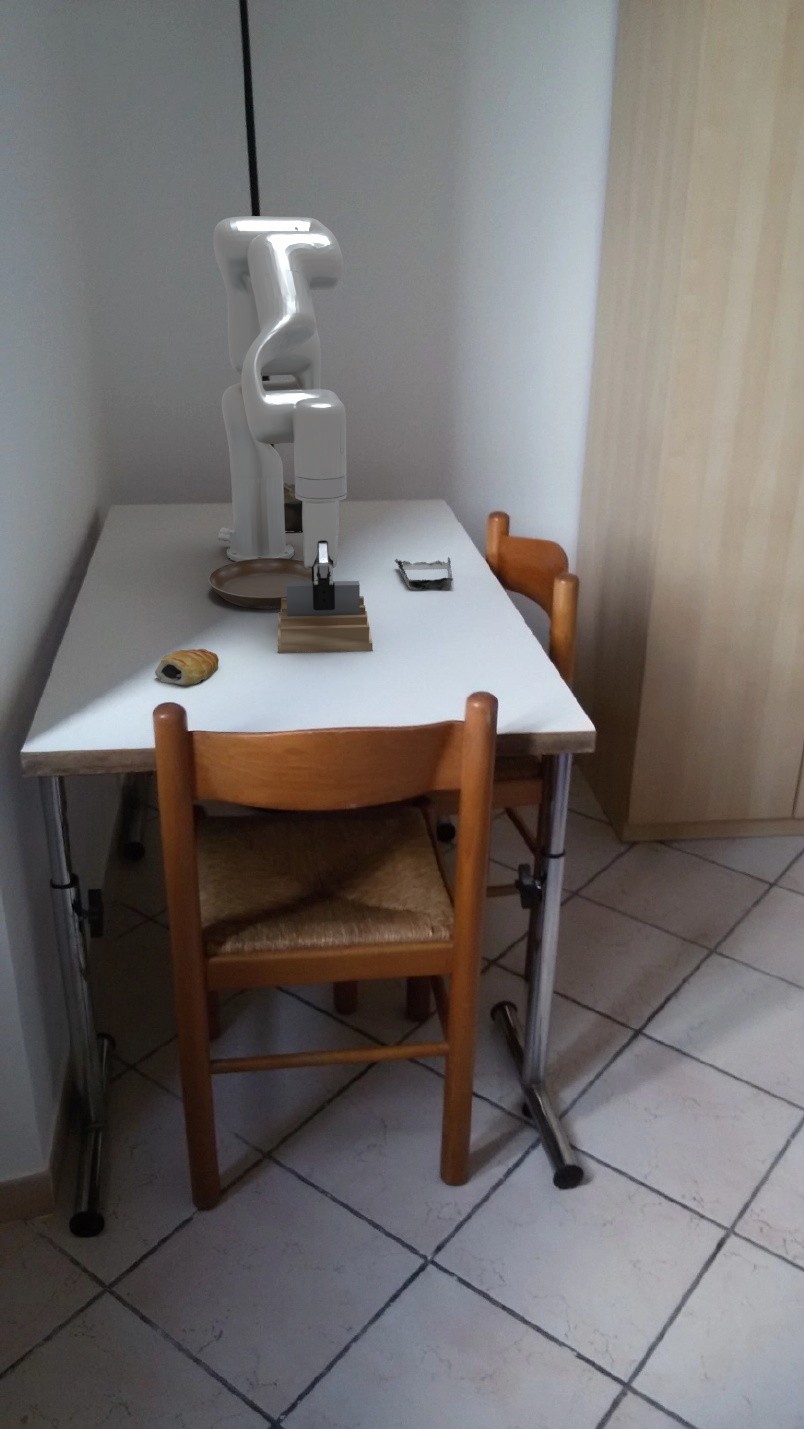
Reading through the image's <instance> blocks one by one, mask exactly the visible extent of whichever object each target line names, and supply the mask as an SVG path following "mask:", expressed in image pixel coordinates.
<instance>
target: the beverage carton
mask: <svg viewBox="0 0 804 1429" xmlns="http://www.w3.org/2000/svg"><path fill="white" fill-rule="evenodd" d="M283 489H284V516H285V531H302V530H303V528H302V503H303V501H301V500H298V499H296V497H295V483H293V484H291V483H290V484H289V482H283Z"/></svg>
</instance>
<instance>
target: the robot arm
mask: <svg viewBox="0 0 804 1429" xmlns="http://www.w3.org/2000/svg"><path fill="white" fill-rule="evenodd" d="M212 240H213V252H214V255H215V259H216V264H217V266H218V268H219V271H220V274H221V276H222V279H223V282H224V287H225V290H226V297H227V298H226V299H227V302H226V303H227V337H228V338H227V339H228V354H229V360H230V364H231V367H232V369H233V370H234V372H236V373H237V374H239V375H241V380H240V382H237V383H235V384H232V385H230V386H229V387H228V388H226V389H225V390H224V392H223V394H222V397H221V412H222V416H223V421H224V422H223V423H224V427H225V432H226V438H227V445H228V453H229V464H230V465H229V466H230V483H231V484H230V485H231V500H232V501H231V502H232V516H233V519H232V521H233V529H231V528H226V527H221V528H220V530H219V533H218V537H217V538H218V540H219V541H221V542H228V543H229V547H228V548H227V549H226V557H227V558H228V559H229V558H230V559H229V560H231V561H234V562H238V561H242V560H249V559H258V558H288V559H292V557H294V555H295V548H294V546H293V545H291V544H289V543H287V542H286V532H285V516H284V489H283V483H284V468H283V467H284V465H283V460H282V458H281V456H280V454H279V452H278V451H277V450H276V449H275V448H274V447H273V446H272V445H278V444H281V445H282V444H293V461H294V466H293V467H294V484H295V497H296V499H298V500H301V501H303V503H302V528H303V530H302V531H303V532H302V551H303V552H302V555H303V561H304V567H305V568H307V569H308V567H312V582H314V583H313V609H314V610H334V609H335V583H333V581H334V573H333V572H334V571H333V569H334V568H335V567H337V565H338V555H339V554H338V553H339V538H340V537H339V536H340V535H339V534H340V533H339V532H340V531H339V530H340V529H339V527H340V526H339V525H340V523H339V522H340V521H339V520H340V516H339V515H340V513H339V512H340V511H339V510H340V508H339V507H340V506H339V502H340V501H343V500H345V499H347V497H348V492H347V490H348V488H347V485H348V484H347V480H348V479H347V415H346V407H345V404H344V403H343V402H342V401H341V399H340V398H339V396H338V395H337V394H336V393H335V392H334V391H332V390H330V389H329V390H328V389H326V388H325V389H324V388H323V389H321V385H322V384H321V380H322V379H321V378H322V375H321V374H322V350H321V348H322V347H321V339H320V336H319V332H318V329H317V328H318V327H317V325H318V324H317V318H316V314H315V308H314V303H313V298H312V294H311V291H327V290H328V291H329V290H334V289H336V288H337V287H339V285H340V284H341V281H342V279H343V274H344V259H343V253H342V249H341V247H340V243H339V241H338V240H337V238H336V236H335V234H334V233H333V232H332V231H331V229H329V228H328V227H326V226H325V225H324V224H323V223H322V222H320V220H318V219H315V218H313V217H303V216H266V215H265V216H262V215H259V216H258V215H257V216H255V215H253V216H252V215H251V216H250V215H248V216H246V215H245V216H233V217H232V216H231V217H227V218H224V219H222V220H221V221H219V222H218V223H217V224H216V226H215V227H214V230H213V239H212ZM268 376H269V377H271V376H272V377H273V376H275V377H276V376H292V377H293V378H292V379H291V380H289V379H288V380H262V377H268Z"/></svg>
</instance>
